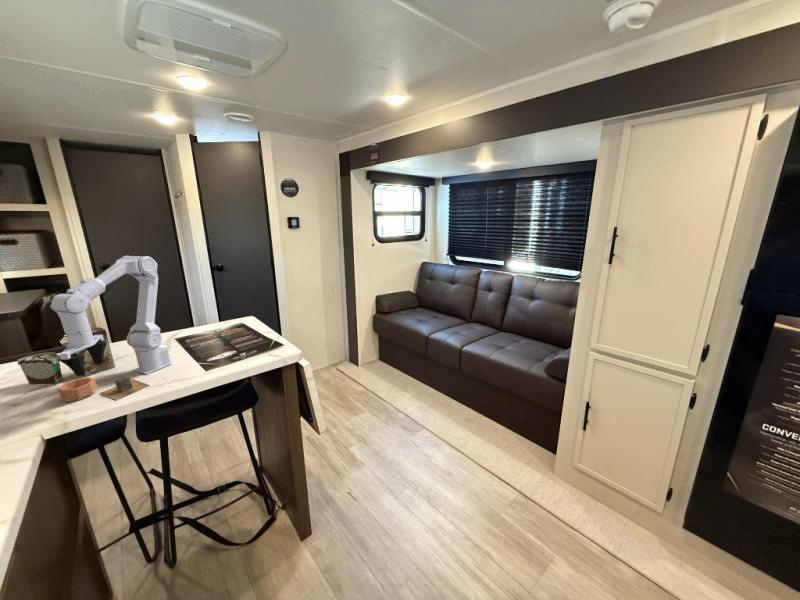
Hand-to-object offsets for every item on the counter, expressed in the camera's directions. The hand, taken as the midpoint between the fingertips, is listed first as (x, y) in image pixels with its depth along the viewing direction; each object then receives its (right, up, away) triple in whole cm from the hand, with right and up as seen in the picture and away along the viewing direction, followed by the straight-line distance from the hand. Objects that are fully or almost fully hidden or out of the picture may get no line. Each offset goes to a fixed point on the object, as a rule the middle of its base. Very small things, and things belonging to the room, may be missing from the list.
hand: (90, 369), depth 103 cm
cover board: (+5, -9, +7) cm, 13 cm away
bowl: (-7, -10, +4) cm, 12 cm away
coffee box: (-17, -5, +20) cm, 27 cm away
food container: (-27, -7, +13) cm, 30 cm away
